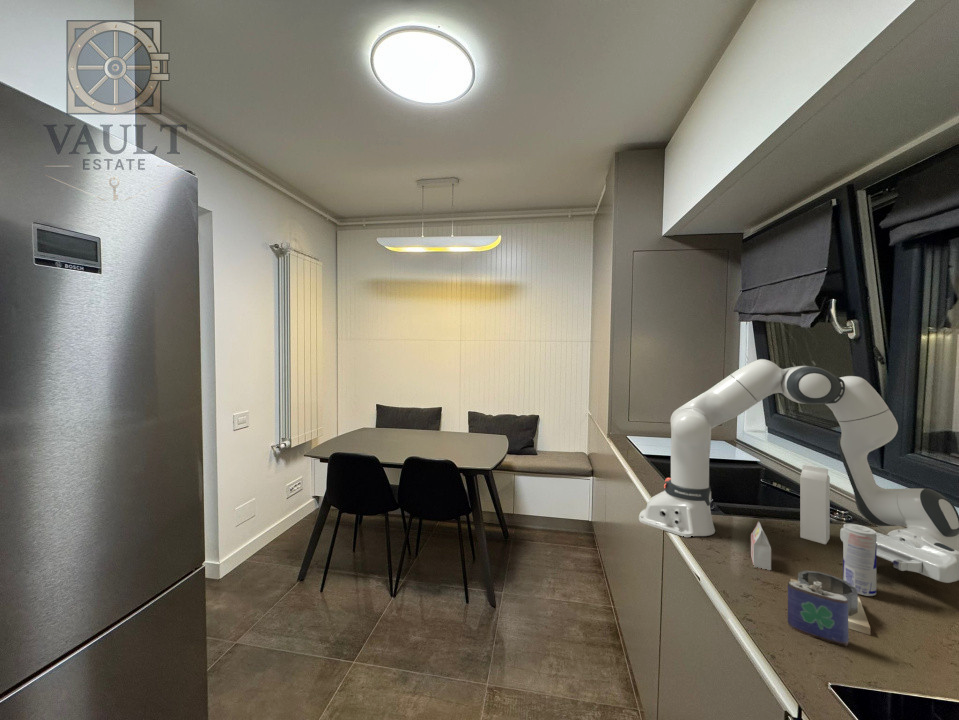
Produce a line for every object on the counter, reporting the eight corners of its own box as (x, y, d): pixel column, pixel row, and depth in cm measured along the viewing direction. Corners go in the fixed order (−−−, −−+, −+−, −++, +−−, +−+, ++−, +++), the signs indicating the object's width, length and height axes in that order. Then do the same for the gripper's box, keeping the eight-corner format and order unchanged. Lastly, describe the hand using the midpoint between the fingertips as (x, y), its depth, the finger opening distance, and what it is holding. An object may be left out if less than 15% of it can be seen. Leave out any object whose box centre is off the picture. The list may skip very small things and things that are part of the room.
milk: (826, 545, 112) (826, 471, 112) (799, 537, 117) (800, 466, 116) (829, 538, 116) (830, 467, 116) (804, 531, 121) (804, 462, 120)
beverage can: (883, 599, 87) (883, 534, 87) (854, 596, 88) (854, 532, 88) (864, 584, 93) (864, 523, 92) (837, 582, 94) (837, 521, 94)
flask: (847, 641, 75) (847, 587, 74) (849, 650, 72) (849, 594, 72) (787, 621, 80) (787, 570, 80) (787, 628, 78) (787, 577, 78)
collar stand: (792, 611, 83) (792, 586, 83) (790, 584, 93) (790, 562, 93) (870, 635, 76) (870, 608, 76) (859, 603, 85) (859, 579, 85)
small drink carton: (767, 558, 105) (767, 522, 105) (771, 570, 99) (771, 532, 99) (750, 555, 107) (750, 520, 107) (753, 566, 101) (753, 529, 101)
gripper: (861, 518, 105) (823, 523, 102) (972, 556, 85) (929, 564, 82) (861, 540, 105) (823, 547, 102) (971, 584, 85) (929, 593, 82)
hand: (871, 555), depth 91 cm, fingers open, 8 cm apart
